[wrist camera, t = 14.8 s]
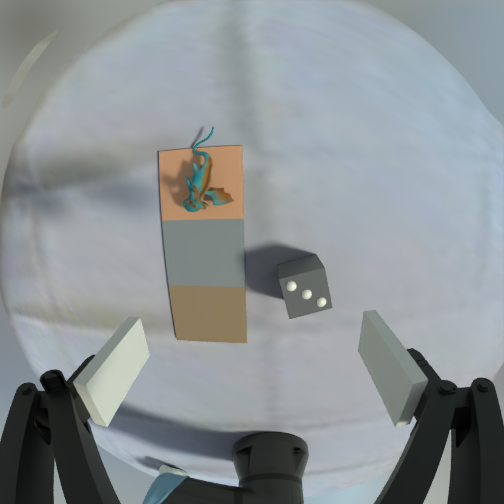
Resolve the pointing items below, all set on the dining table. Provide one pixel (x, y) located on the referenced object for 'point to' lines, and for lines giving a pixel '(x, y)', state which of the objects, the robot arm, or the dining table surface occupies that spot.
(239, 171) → the game board
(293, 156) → the dining table surface
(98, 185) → the dining table surface
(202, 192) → the dragon figurine
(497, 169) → the dining table surface
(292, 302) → the die
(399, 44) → the dining table surface
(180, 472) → the duck figurine
